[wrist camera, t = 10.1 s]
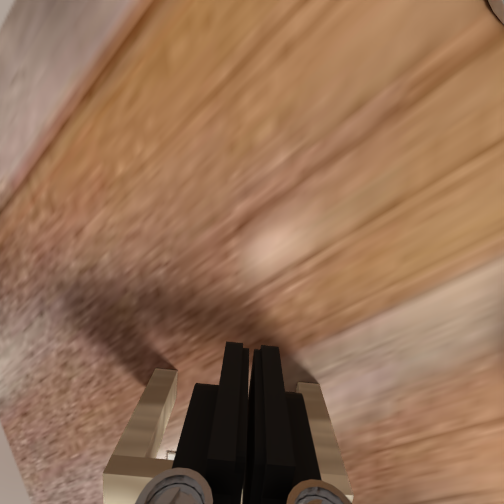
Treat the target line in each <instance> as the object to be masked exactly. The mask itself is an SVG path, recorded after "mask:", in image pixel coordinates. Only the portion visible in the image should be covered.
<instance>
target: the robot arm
mask: <svg viewBox="0 0 504 504" xmlns="http://www.w3.org/2000/svg"><path fill="white" fill-rule="evenodd" d="M488 2H489V4H490V6H491V8H492V10H493V12H494V13H495V14H496V15H497V17H498V18H499V19H500V21H501V22H502V23H503V24H504V0H488ZM248 376H249V349H248V348H243V343H235V342H226V346H225V352H224V358H223V364H222V370H221V377H220V383H219V385H211V384H200V383H196V384H195V386H194V389H193V393H192V397H191V400H190V404H189V407H188V411H187V415H186V418H185V422H184V425H183V429H182V433H181V436H180V440H179V443H178V447H177V451H176V454H175V458H174V461H173V465H172V468H171V469H169V470H166V471H164V472H162V473H160V474H158V475H156V476H155V477H154V478H153V479H152V480H151V481H149V482H148V483H147V484H146V486H145V487H144V489H143V490H142V492H141V493H140V495H139V496H138V498H137V500H136V502H135V504H241V497H242V504H352V503H351V501H350V500H349V499H348V498H347V497H346V496H345V495H344V493H343V492H342V491H340V490H339V489H337V488H336V487H335V486H333V485H332V484H329V483H327V482H324V481H322V479H321V475H320V470H319V465H318V461H317V456H316V452H315V447H314V443H313V438H312V434H311V429H310V425H309V420H308V415H307V411H306V406H305V402H304V398H303V395H302V393H294V392H285V389H284V382H283V374H282V367H281V360H280V353H279V347H276V346H266V345H261V349H260V350H258V349H254V355H253V363H252V371H251V379H250V387H249V395H248ZM242 489H243V492H242Z"/></svg>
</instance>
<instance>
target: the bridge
mask: <svg viewBox="0 0 504 504" xmlns="http://www.w3.org/2000/svg"><path fill="white" fill-rule="evenodd" d="M177 371H178V370H168V369H158V368H155V370H154V372H153V374H152V376H151V378H150V380H149V382H148V384H147V386H146V388H145V390H144V392H143V394H142V396H141V398H140V400H139V402H138V404H137V406H136V408H135V410H134V412H133V414H132V416H131V418H130V420H129V422H128V424H127V426H126V428H125V430H124V432H123V434H122V436H121V438H120V440H119V442H118V444H117V446H116V448H115V450H114V452H113V454H112V456H111V458H110V460H109V462H108V464H107V466H106V468H105V470H104V472H103V499H104V504H135V502H136V500H137V498H138V496H139V495H140V493H141V492H142V490H143V489H144V487H145V486H146V484H147V483H148V482H149V481H151V480H152V479H153V478H154V477H155V476H156V475H158V474H160V473H162V472H164V471H166V470H169V469H171V468H172V465H173V461H174V460H166V459H155V458H156V455H157V452H158V449H159V446H160V444H161V441H162V438H163V435H164V432H165V429H166V426H167V423H168V420H169V417H170V414H171V412H172V409H173V406H174V403H175V400H176V392H177ZM296 393H302V395H303V398H304V402H305V406H306V411H307V415H308V420H309V425H310V429H311V434H312V438H313V443H314V447H315V452H316V456H317V461H318V465H319V470H320V475H321V479H322V481H324V482H327V483H329V484H332V485H333V486H335V487H336V488H337V489H339V490H340V491H342V492H343V493H344V495H345V496H346V497H347V498H348V499H349V500H350V501H351V503H352V500H353V496H354V495H353V492H352V488H351V485H350V482H349V479H348V475H347V472H346V469H345V466H344V462H343V459H342V456H341V453H340V449H339V446H338V443H337V440H336V437H335V433H334V430H333V427H332V424H331V420H330V417H329V414H328V411H327V407H326V404H325V401H324V398H323V394H322V391H321V388H320V385H319V384H314V383H303V382H298V383H297V389H296ZM242 492H243V489H242ZM241 504H242V497H241Z"/></svg>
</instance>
